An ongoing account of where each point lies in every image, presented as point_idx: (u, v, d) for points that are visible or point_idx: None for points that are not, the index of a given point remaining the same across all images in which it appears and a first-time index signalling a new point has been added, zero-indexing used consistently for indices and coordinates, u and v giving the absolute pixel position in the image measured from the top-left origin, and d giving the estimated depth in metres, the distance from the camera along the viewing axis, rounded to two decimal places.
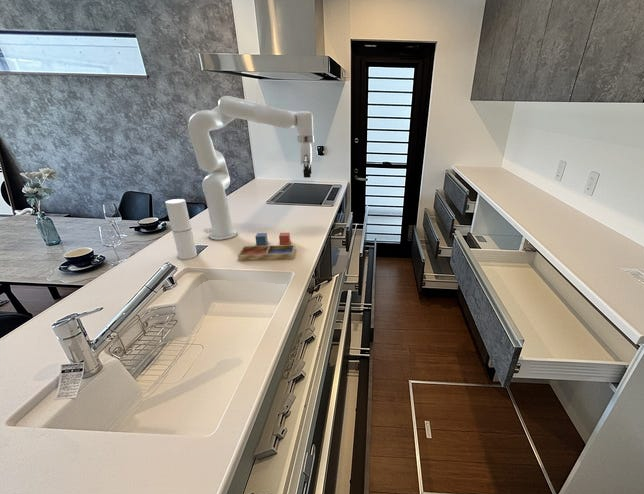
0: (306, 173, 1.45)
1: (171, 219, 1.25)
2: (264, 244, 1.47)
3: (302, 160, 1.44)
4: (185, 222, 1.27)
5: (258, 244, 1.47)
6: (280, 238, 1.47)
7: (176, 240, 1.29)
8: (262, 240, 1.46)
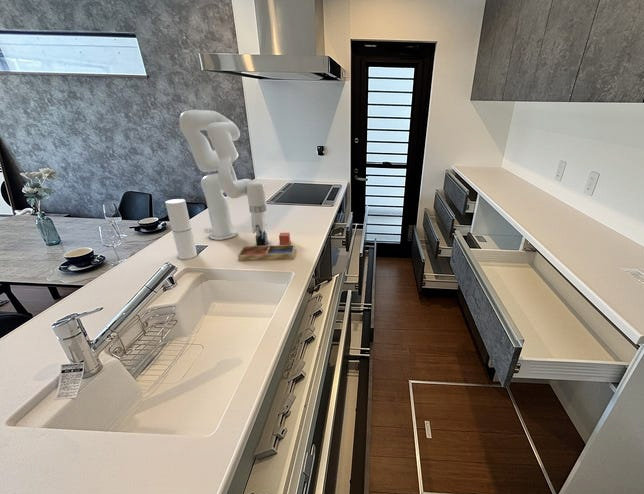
0: (260, 242, 1.45)
1: (171, 219, 1.25)
2: None
3: (254, 230, 1.41)
4: (185, 222, 1.27)
5: None
6: (280, 238, 1.47)
7: (176, 240, 1.29)
8: None
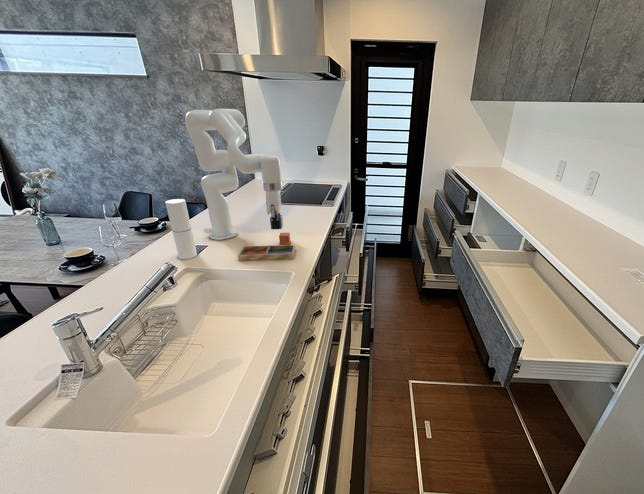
0: (275, 225, 1.30)
1: (171, 219, 1.25)
2: None
3: (268, 210, 1.26)
4: (185, 222, 1.27)
5: None
6: (280, 238, 1.47)
7: (176, 240, 1.29)
8: None
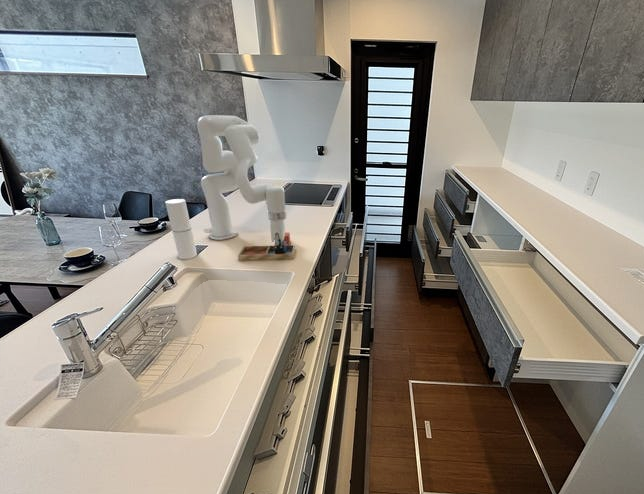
0: (278, 252, 1.34)
1: (171, 219, 1.25)
2: (283, 253, 1.36)
3: (273, 238, 1.30)
4: (185, 222, 1.27)
5: None
6: None
7: (176, 240, 1.29)
8: None
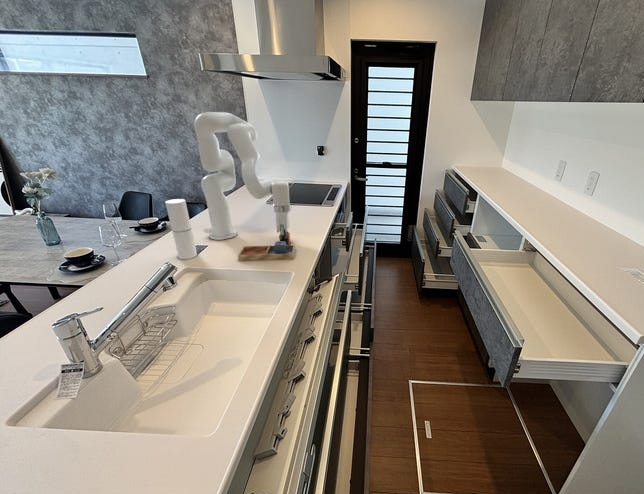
0: None
1: (171, 219, 1.25)
2: (283, 253, 1.36)
3: (278, 229, 1.42)
4: (185, 222, 1.27)
5: (277, 253, 1.36)
6: None
7: (176, 240, 1.29)
8: (282, 249, 1.35)
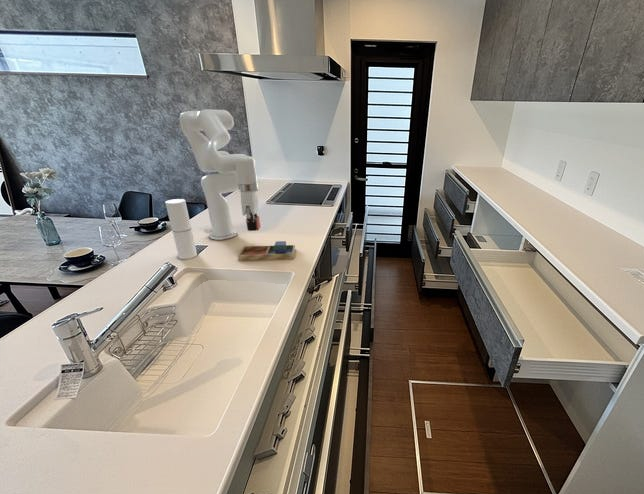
0: (251, 226, 1.29)
1: (171, 219, 1.25)
2: (283, 253, 1.36)
3: (244, 211, 1.24)
4: (185, 222, 1.27)
5: (277, 253, 1.36)
6: (247, 223, 1.29)
7: (176, 240, 1.29)
8: (282, 249, 1.35)
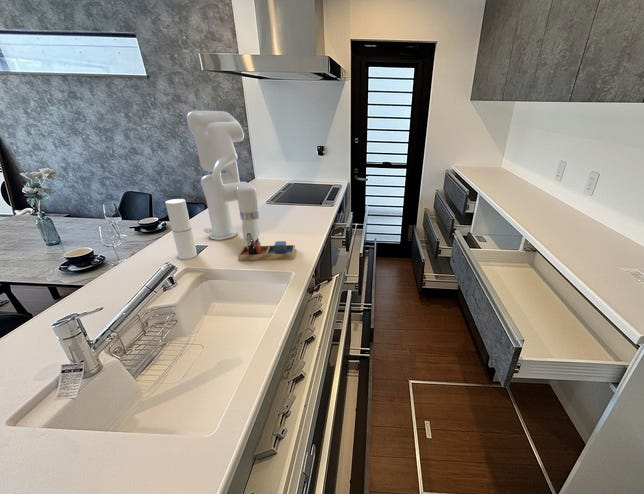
0: (251, 252, 1.32)
1: (171, 219, 1.25)
2: (283, 253, 1.36)
3: (245, 238, 1.28)
4: (185, 222, 1.27)
5: (277, 253, 1.36)
6: None
7: (176, 240, 1.29)
8: (282, 249, 1.35)
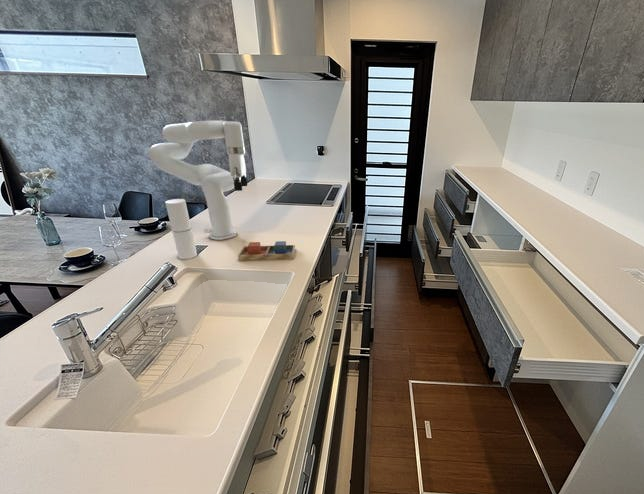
0: (237, 186, 1.38)
1: (171, 219, 1.25)
2: (283, 253, 1.36)
3: (232, 173, 1.36)
4: (185, 222, 1.27)
5: (277, 253, 1.36)
6: (249, 249, 1.33)
7: (176, 240, 1.29)
8: (282, 249, 1.35)
